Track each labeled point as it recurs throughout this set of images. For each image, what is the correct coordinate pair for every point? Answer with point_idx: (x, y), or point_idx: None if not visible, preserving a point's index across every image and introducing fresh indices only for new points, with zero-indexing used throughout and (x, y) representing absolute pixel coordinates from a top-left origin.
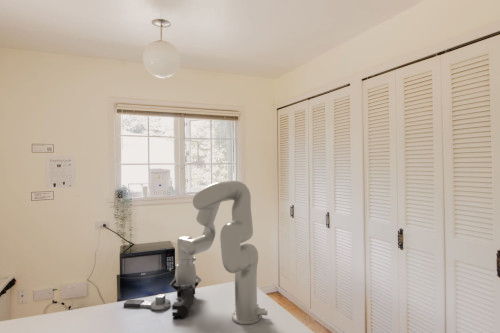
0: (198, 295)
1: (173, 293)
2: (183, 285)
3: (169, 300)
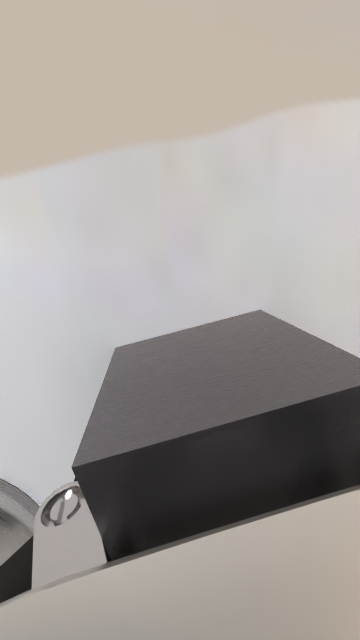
0: (339, 346)
1: (6, 218)
2: (201, 508)
3: (14, 541)
